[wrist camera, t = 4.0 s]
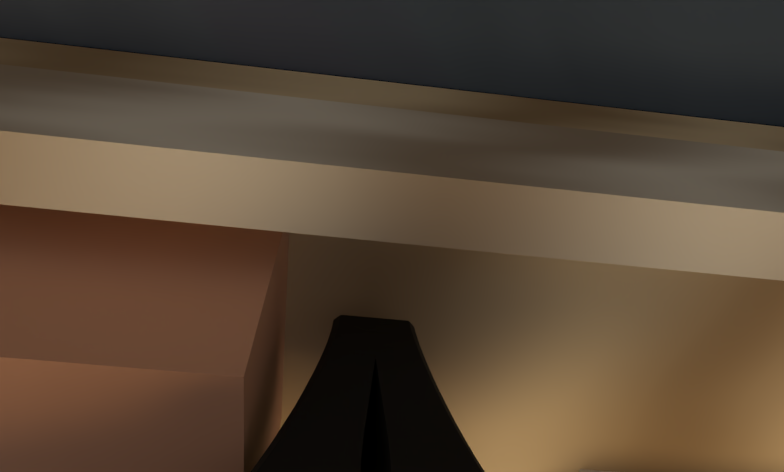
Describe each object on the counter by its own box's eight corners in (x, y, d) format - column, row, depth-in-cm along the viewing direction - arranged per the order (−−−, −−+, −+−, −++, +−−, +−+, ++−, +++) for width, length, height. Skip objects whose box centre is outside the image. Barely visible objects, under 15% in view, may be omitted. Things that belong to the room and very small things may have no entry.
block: (290, 203, 11) (243, 376, 7) (281, 419, 13) (244, 623, 10) (-28, 171, 10) (-237, 338, 7) (26, 400, 13) (-106, 603, 9)
